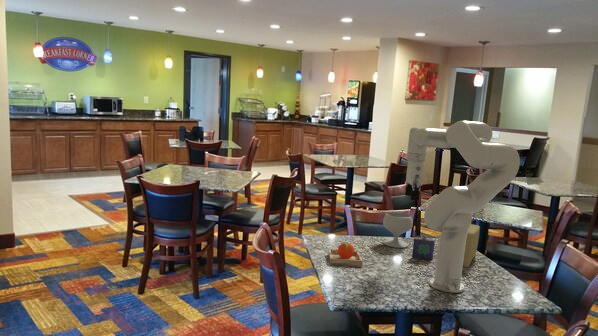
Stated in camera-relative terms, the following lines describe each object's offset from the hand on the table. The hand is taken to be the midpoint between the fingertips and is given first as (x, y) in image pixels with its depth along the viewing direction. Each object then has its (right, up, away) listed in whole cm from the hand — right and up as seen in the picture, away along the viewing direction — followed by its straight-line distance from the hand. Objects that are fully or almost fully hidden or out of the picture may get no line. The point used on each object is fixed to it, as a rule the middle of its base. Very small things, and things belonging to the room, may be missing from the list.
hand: (411, 197), depth 196 cm
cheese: (+28, -29, +14) cm, 43 cm away
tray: (-28, -26, 0) cm, 39 cm away
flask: (+8, -28, +12) cm, 31 cm away
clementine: (-28, -26, -1) cm, 38 cm away
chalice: (-1, -25, +30) cm, 39 cm away
